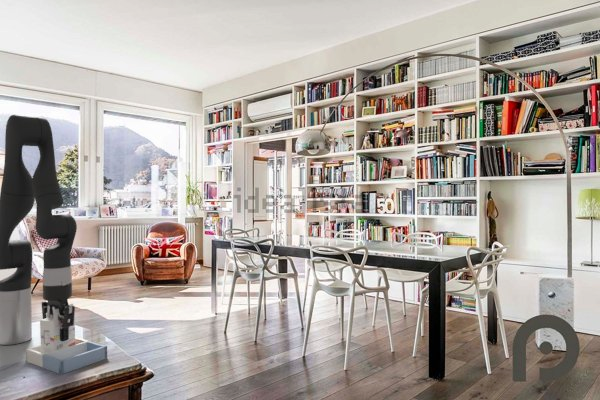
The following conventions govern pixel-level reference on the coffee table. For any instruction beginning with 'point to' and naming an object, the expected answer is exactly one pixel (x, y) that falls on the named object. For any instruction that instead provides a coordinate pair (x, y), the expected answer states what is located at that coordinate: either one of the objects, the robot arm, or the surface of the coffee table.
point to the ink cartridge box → (54, 333)
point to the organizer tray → (67, 356)
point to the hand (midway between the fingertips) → (58, 338)
